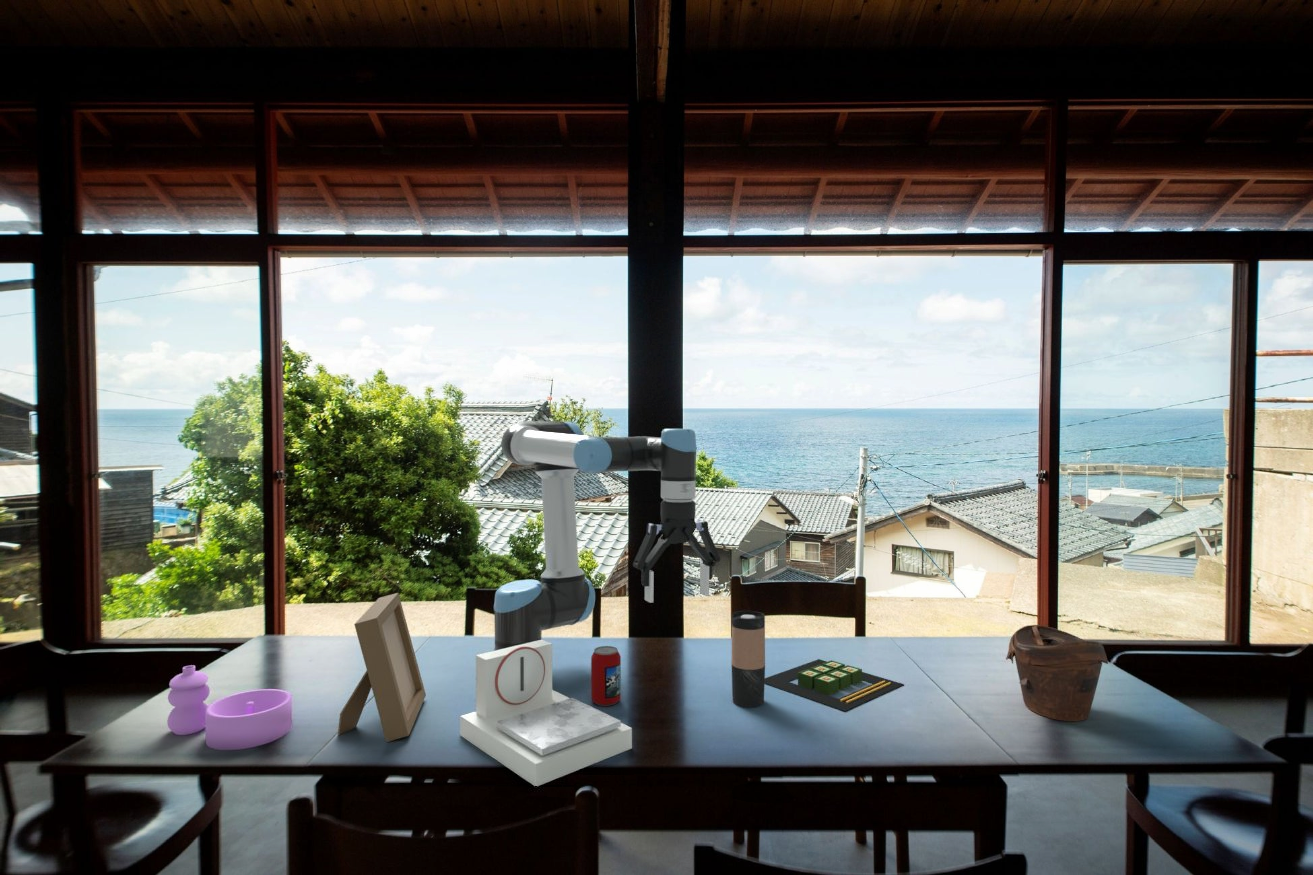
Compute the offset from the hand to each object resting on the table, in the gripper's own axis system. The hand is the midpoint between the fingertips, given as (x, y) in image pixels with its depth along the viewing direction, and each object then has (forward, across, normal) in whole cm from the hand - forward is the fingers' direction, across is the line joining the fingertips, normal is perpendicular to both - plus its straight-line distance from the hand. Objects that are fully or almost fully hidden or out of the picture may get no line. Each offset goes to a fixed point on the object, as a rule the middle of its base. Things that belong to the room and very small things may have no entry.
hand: (677, 597), depth 153 cm
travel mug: (+26, +19, 0) cm, 32 cm away
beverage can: (+26, -10, +14) cm, 32 cm away
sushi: (+27, +43, +1) cm, 51 cm away
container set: (+27, -86, +34) cm, 97 cm away
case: (+25, +77, -34) cm, 88 cm away
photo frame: (+27, -57, +26) cm, 68 cm away
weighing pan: (+21, -28, -4) cm, 36 cm away
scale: (+26, -29, +1) cm, 39 cm away
